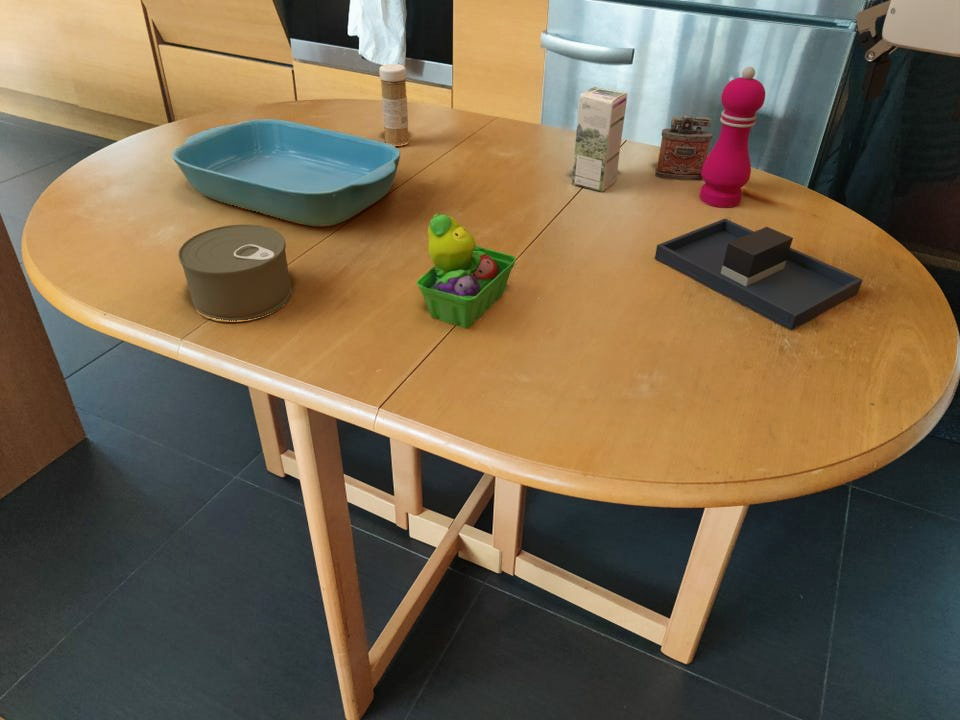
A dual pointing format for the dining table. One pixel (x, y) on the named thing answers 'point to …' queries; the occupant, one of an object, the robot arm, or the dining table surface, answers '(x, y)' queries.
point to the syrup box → (598, 138)
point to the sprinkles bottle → (394, 103)
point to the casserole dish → (289, 169)
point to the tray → (777, 296)
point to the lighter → (684, 149)
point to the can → (236, 271)
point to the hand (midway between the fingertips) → (914, 108)
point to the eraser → (756, 256)
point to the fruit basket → (461, 274)
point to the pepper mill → (732, 142)
